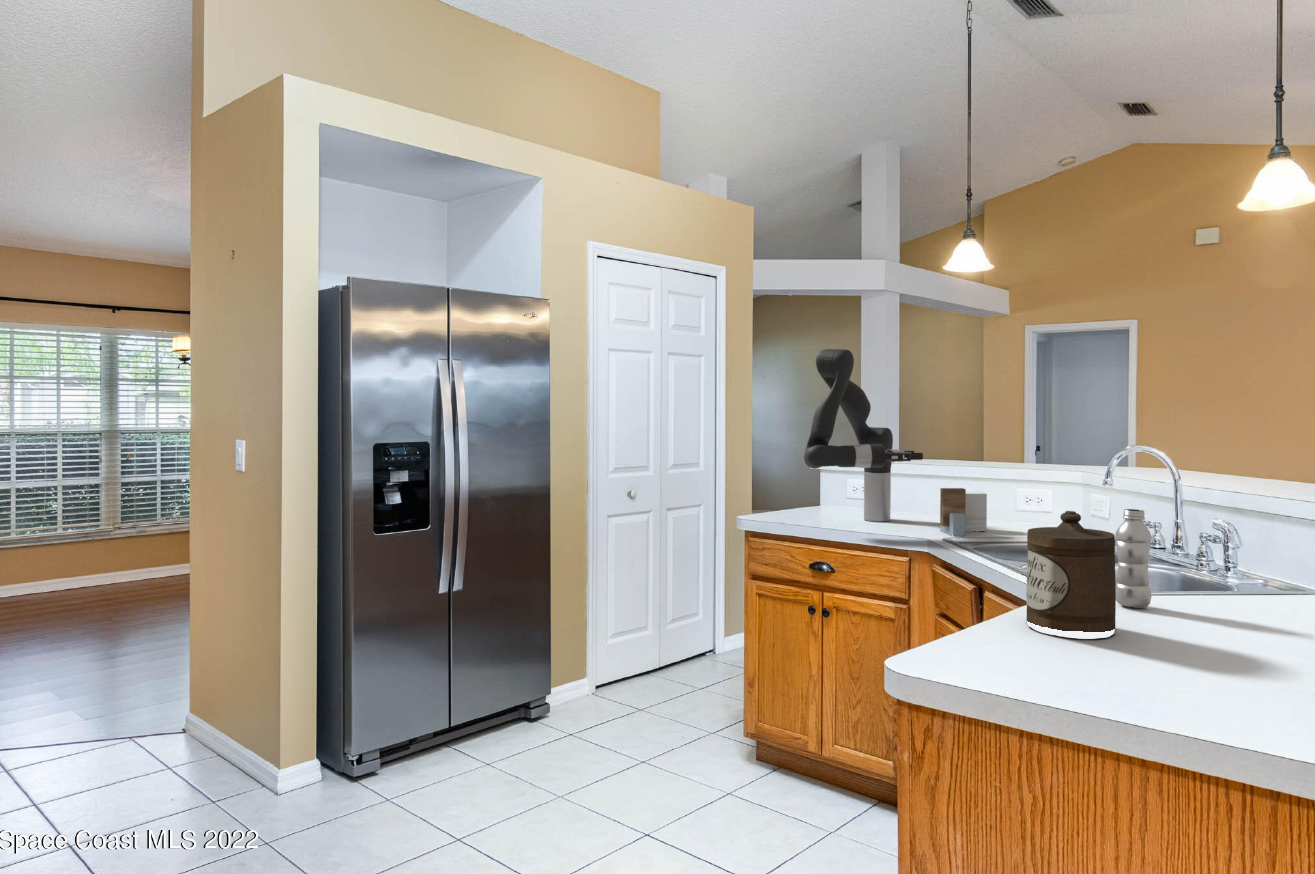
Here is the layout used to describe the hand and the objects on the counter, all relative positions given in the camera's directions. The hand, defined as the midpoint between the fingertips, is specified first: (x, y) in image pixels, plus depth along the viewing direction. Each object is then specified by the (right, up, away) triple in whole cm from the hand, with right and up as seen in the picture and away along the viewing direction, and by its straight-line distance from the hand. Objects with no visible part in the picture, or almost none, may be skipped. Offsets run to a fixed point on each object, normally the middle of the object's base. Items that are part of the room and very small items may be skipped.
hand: (918, 455), depth 265 cm
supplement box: (+20, -25, +8) cm, 33 cm away
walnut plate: (+11, -23, +1) cm, 25 cm away
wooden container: (-7, -30, -111) cm, 115 cm away
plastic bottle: (+14, -29, -95) cm, 100 cm away
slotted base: (+11, -25, +1) cm, 28 cm away
